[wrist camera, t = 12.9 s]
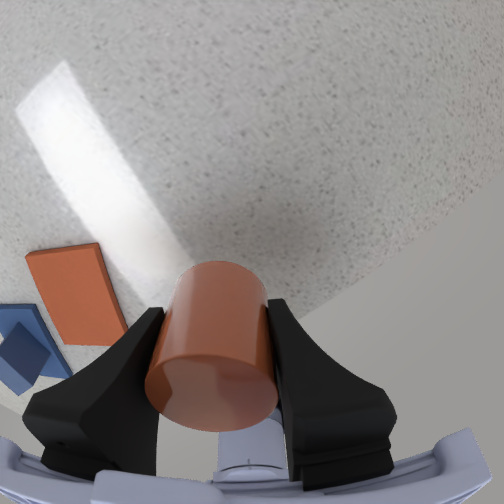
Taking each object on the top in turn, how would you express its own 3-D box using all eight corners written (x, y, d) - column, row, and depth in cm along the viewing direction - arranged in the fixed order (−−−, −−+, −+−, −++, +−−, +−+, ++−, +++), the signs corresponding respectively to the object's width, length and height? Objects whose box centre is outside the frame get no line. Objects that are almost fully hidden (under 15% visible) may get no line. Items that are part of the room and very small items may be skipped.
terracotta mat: (132, 339, 24) (130, 346, 23) (67, 338, 24) (64, 344, 24) (98, 242, 20) (93, 247, 19) (29, 252, 20) (24, 256, 20)
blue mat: (73, 374, 27) (70, 379, 26) (28, 368, 27) (25, 373, 26) (35, 303, 23) (31, 309, 22) (-9, 304, 23) (-13, 308, 22)
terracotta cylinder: (270, 335, 15) (280, 429, 10) (183, 340, 15) (165, 431, 10) (264, 255, 13) (277, 348, 8) (162, 264, 13) (125, 354, 8)
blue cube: (51, 353, 24) (33, 386, 20) (35, 366, 25) (18, 396, 21) (18, 320, 23) (-4, 351, 18) (5, 337, 24) (-15, 365, 20)
